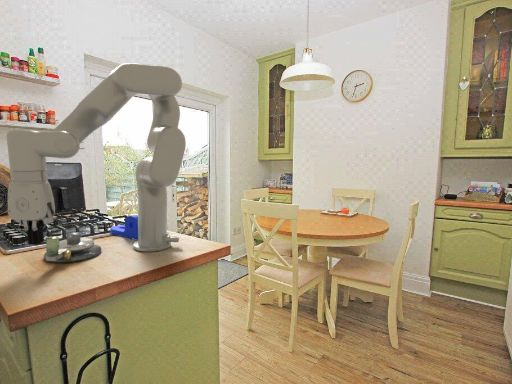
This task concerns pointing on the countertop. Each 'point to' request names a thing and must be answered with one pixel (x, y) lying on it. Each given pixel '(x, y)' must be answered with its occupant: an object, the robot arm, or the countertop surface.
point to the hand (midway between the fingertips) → (36, 243)
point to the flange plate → (66, 245)
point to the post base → (77, 255)
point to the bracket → (127, 228)
